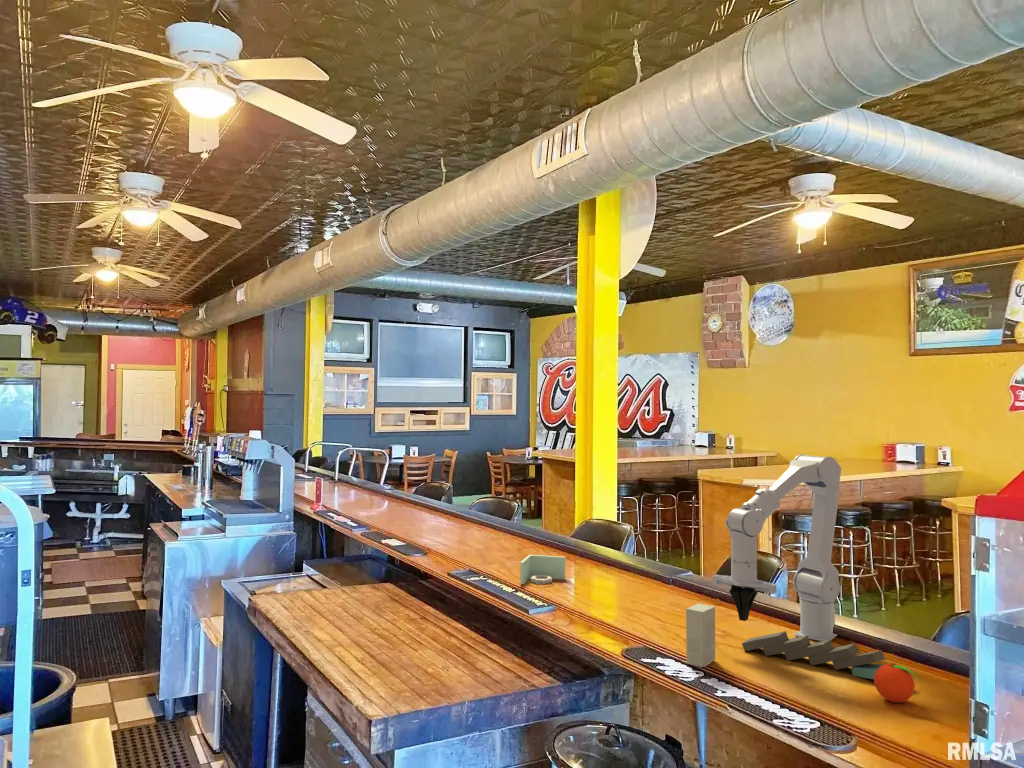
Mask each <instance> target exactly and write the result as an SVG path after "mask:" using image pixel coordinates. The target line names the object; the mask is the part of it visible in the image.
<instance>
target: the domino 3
mask: <svg viewBox="0 0 1024 768" xmlns="http://www.w3.org/2000/svg"><path fill="white" fill-rule="evenodd" d="M833 648H834V645H833V644H832V640H826V641H817V642H813V643H810V644H809V645H808V646H806V647H805V648H804V649H799V650H794V651H789V652H784V655H785V657H786V660H787V662H788V661H792V660H798V659H803V658H808V657H809V656H814V655H819V654H824V653H827V652H829V651H830V650H831V649H833Z"/></svg>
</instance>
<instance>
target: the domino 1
mask: <svg viewBox="0 0 1024 768" xmlns="http://www.w3.org/2000/svg"><path fill="white" fill-rule="evenodd" d="M788 636H789V635H788V634H787V631H786V630H784V631H779V632H774V633H769V634H764V635H760V636H755V637H749V638H748V639H747V640H745V641H742V643H741V645H742V648H743V651H744V650H746V651H745V652H747V651H752V650H759V649H763V648H764V647H769V646H774V645H779V644H782V643H784V642H785V641H787V640H788V639H789V637H788Z"/></svg>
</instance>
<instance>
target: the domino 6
mask: <svg viewBox="0 0 1024 768" xmlns="http://www.w3.org/2000/svg"><path fill="white" fill-rule="evenodd" d="M883 665H884V664H878V663H869V664H864V665H858V666H853V667H851V672H852V673H851V674H852V676H853V677H859V678H864V679H870V680H874V676H875V673H876V671H877V670H878V669H879V668H880V667H881V666H883Z"/></svg>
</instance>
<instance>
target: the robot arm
mask: <svg viewBox="0 0 1024 768" xmlns="http://www.w3.org/2000/svg"><path fill="white" fill-rule="evenodd" d="M841 474H842V467H841V465H840V464H839V463H838V461H837V460H836V459H835V458H834V457H833V456H819V455H808V454H803V453H802V454H801V453H800V454H797V456H795V457H794V459H793V460H791V461H789V467H788V468H787V470H786V471H784V472H783V473H782V475H780V477H779V478H778V479H777V480H776V481H775V482H774V483H773V484H772V485H771V486H770V487H769V488H761V489H757V490H756V491H755V494H754V495H753V496H752V497H751V498H750V499H748V501H747V502H746V501H745V502H744V503H743V504H742V505H741V506H740V508H739V507H737V508H736V507H735V508H733V509H732V510H731V511H730V512H729V513H728V514H727V518H726V519H725V525H726V527H727V530H728V531H729V538H730V540H731V541H730V543H731V544H730V547H731V549H730V551H731V552H730V553H731V555H730V562H731V563H730V564H731V565H730V570H731V571H730V573H731V574H730V575H725V574H724V575H721V574H714V575H712V584H713V585H721V586H722V585H723V586H727V587H730V589H729V594H730V595H731V596H730V597H731V598H732V600H733V602H734V604H735V606H736V607H735V608H736V611H737V614H738V619H739V621H742V622H746V621H748V620H749V615H750V611H751V608H752V605H753V603H754V602H755V598H756V596H757V595H758V592H764V593H768V594H772V595H775V594H777V583H772V582H768V581H764V580H759V579H758V556H757V555H758V534H761V532H762V530H763V527H764V524H765V523H766V520H767V519H768V518H769V517H770V516H771V515H773V514H774V512H775V511H777V510H778V509H779V508H780V506H781V500H782V499H783V498H784V497H785V496H786V495H788V494H790V493H791V492H792V491H793V490H794V489H796V488H797V487H798V486H799V485H801V484H804V485H806V486H807V487H809V488H810V490H811V491H812V493H813V494H814V500H813V508H812V515H811V523H810V529H809V530H810V531H809V538H808V545H807V552H806V553H807V555H806V557H805V558H803V559H802V560H801V561H799V562H798V564H797V569H796V571H795V574H794V576H793V580H792V583H793V584H792V585H793V588H794V590H795V592H797V594H798V595H797V597H798V598H800V607H799V609H800V611H799V612H800V618H799V620H800V621H799V623H800V625H799V626H800V628H799V629H800V630H798V631H797V632H795V633H794V636H795V637H801V636H806V635H808V638H809V640H813V641H817V642H821V641H826V640H831V641H832V640H833V639H835V638H836V637H837V636H838V635H837V634H834V633H833V627H834V625H835V626H836V608H835V605H834V603H835V600H836V599H837V598H838V596H839V594H840V591H841V586H840V581H839V579H840V578H839V577H840V576H839V575H840V571H839V570H838V569H837V568H836V566H834V564H833V563H832V553H833V547H834V546H833V545H834V537H835V530H836V522H837V514H838V507H839V506H838V505H839V498H840V481H841Z"/></svg>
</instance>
